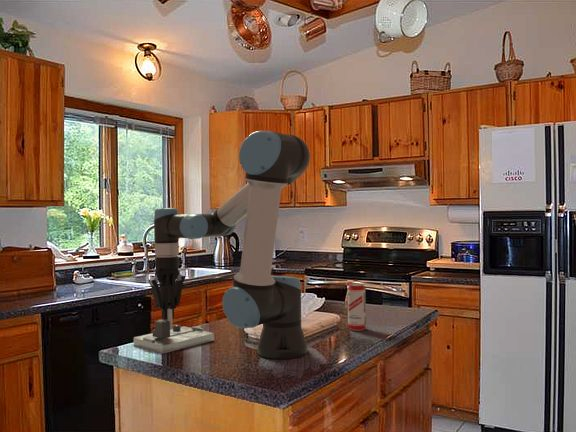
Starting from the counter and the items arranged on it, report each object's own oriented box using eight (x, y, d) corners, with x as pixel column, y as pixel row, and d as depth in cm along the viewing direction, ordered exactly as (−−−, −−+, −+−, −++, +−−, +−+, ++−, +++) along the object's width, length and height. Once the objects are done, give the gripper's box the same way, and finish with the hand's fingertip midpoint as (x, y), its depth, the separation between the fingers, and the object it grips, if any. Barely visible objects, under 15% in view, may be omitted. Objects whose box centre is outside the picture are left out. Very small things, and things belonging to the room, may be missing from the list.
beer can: (364, 332, 181) (363, 286, 181) (346, 330, 184) (345, 285, 183) (367, 328, 187) (366, 283, 187) (350, 327, 189) (349, 282, 189)
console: (213, 340, 173) (213, 328, 173) (162, 353, 158) (162, 340, 158) (184, 333, 184) (184, 322, 183) (133, 344, 169) (133, 332, 169)
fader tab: (170, 336, 167) (169, 320, 167) (162, 338, 165) (161, 322, 165) (162, 334, 170) (162, 318, 170) (154, 336, 168) (154, 320, 168)
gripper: (176, 253, 176) (177, 323, 176) (142, 257, 166) (144, 331, 167) (190, 255, 171) (191, 326, 171) (156, 258, 161) (157, 334, 162)
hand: (168, 328), depth 169 cm, fingers closed
